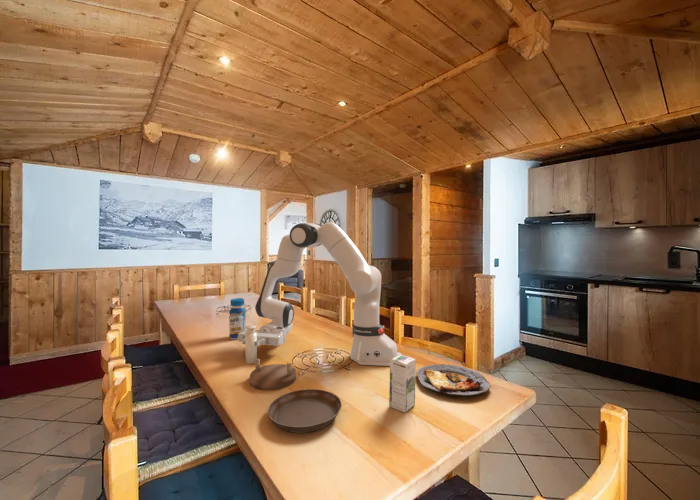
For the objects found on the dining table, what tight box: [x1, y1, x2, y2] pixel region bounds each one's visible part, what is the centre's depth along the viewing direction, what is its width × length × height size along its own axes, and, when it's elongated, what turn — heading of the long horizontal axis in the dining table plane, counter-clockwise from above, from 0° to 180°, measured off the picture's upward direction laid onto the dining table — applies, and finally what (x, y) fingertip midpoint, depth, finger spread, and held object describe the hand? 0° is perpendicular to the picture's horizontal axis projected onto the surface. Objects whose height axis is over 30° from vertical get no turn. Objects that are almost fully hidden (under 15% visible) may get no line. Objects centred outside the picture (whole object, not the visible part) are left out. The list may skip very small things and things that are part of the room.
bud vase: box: [244, 324, 258, 365], centre depth 129 cm, size 5×5×15 cm
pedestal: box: [249, 358, 297, 391], centre depth 112 cm, size 16×16×6 cm
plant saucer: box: [267, 388, 343, 434], centre depth 89 cm, size 21×21×3 cm
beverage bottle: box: [228, 297, 247, 341], centre depth 162 cm, size 8×8×20 cm
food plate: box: [415, 363, 491, 397], centre depth 109 cm, size 25×23×4 cm
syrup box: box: [388, 354, 417, 414], centre depth 94 cm, size 6×6×14 cm
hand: (249, 343), depth 128 cm, fingers closed on bud vase, 5 cm apart
